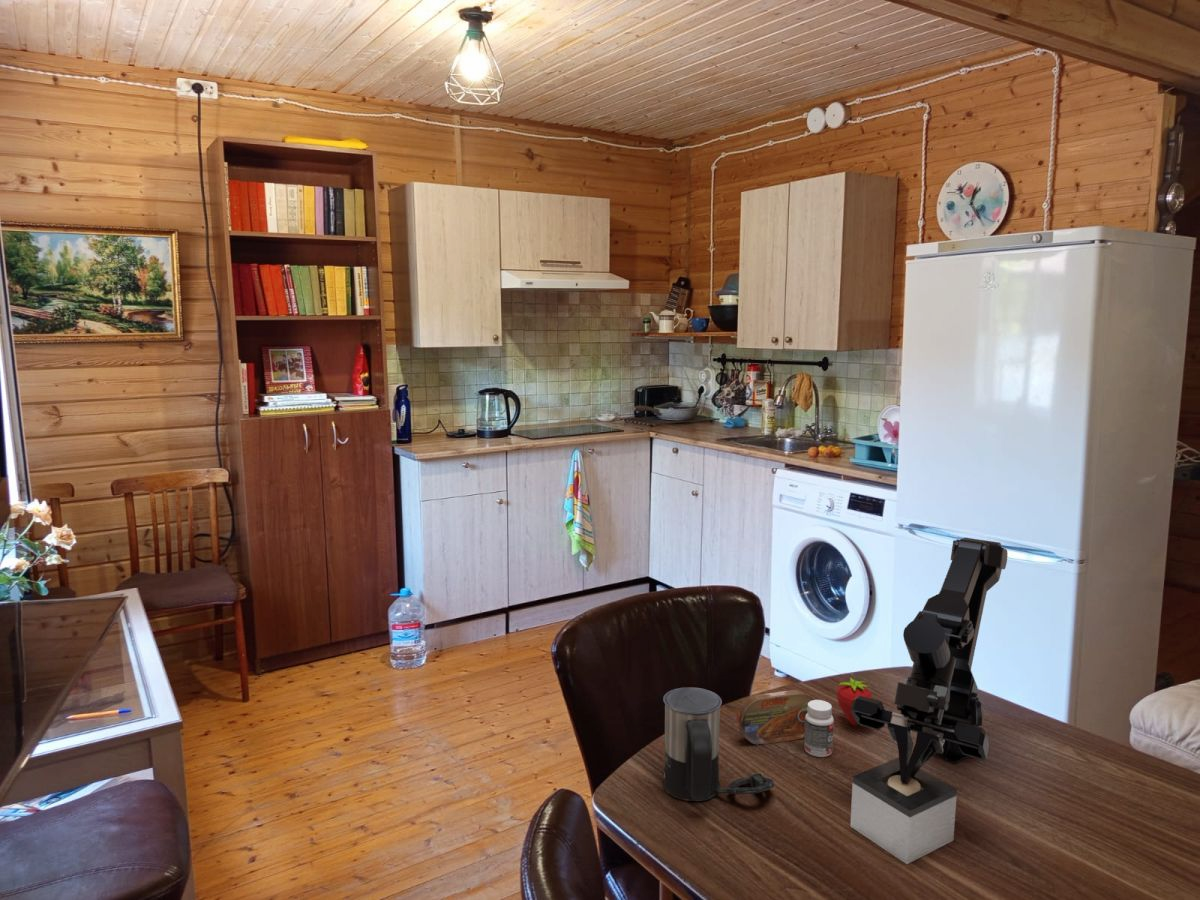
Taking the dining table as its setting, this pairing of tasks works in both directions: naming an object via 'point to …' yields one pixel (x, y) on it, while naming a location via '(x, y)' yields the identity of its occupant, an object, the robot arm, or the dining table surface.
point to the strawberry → (851, 696)
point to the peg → (904, 785)
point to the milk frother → (697, 748)
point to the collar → (903, 812)
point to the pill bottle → (819, 728)
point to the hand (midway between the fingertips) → (904, 782)
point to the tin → (774, 717)
